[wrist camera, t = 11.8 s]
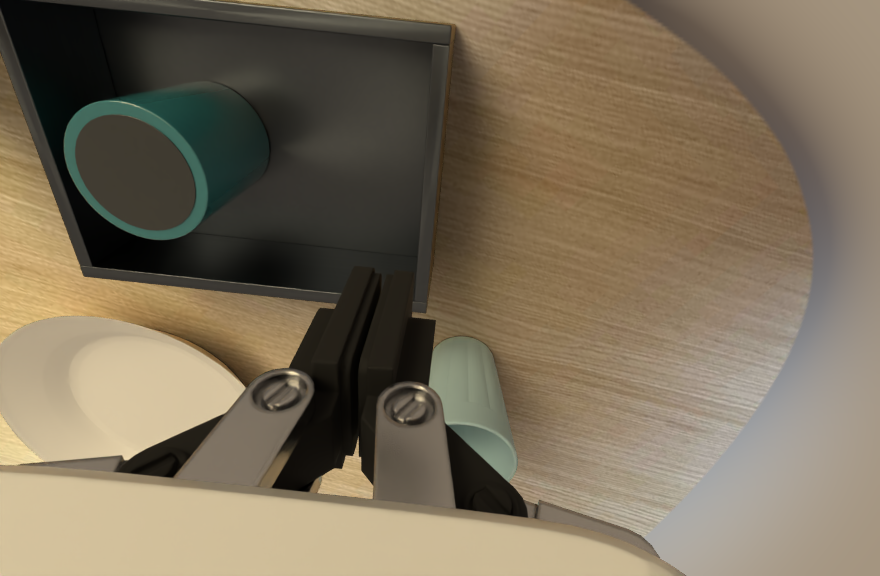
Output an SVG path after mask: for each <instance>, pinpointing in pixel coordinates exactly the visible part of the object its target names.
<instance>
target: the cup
mask: <svg viewBox="0 0 880 576" xmlns="http://www.w3.org/2000/svg"><path fill="white" fill-rule="evenodd" d="M429 387H430V388H432V389H433V390H435V391H436V393H437V394H438V395H439V396H440V398H441V401H442V404H443V411H444V419H445V423H446V424H447V425H448V426H449V427H450V428H451V429H452V430H454V431H455V432H456V433H457V434H458V435H459V436H460V437H461V438H462V439H463V440H464V441H465V442H466V443H467V444H468V445H469V446H470V447H472V448H473V449H474V450H475V451H476V452H477V453H478V454H479V455H480V456H481V457H482V458H483V459H484V460H485V461H486V462H487V463H489V464H490V465H491V466H492V467H493V468H494V469H495V470H496V471H497V472H498V473H499V474H500V475H501V476H502V477H503V478H504V479H505V480H507V481H508V482H509V481H510V480H511V479H512V478H513V476H514V474H515V472H516V470H517V465H518V459H517V453H516V449H515V445H514V441H513V436H512V432H511V429H510V424H509V420H508V416H507V412H506V407H505V403H504V399H503V395H502V391H501V386H500V382H499V378H498V374H497V370H496V365H495V361H494V358H493V355H492V353H491V351H490V350H489V348H488V347H487V346H486V345H485V344H484V343H482V342H480V341H479V340H477V339H474V338H471V337H464V336H458V337H452V338H448V339H446V340H444V341H442V342H441V343H439V344H438V345H437V346H436V347H435V348H434V350H433V352H432V361H431V370H430V379H429Z"/></svg>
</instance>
